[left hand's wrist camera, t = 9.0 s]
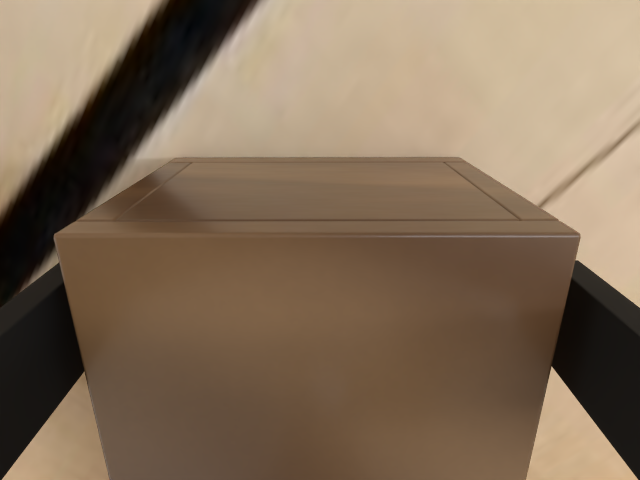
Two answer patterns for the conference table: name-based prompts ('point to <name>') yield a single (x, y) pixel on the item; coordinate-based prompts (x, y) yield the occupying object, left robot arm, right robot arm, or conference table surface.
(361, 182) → the cabinet
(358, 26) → the conference table surface
